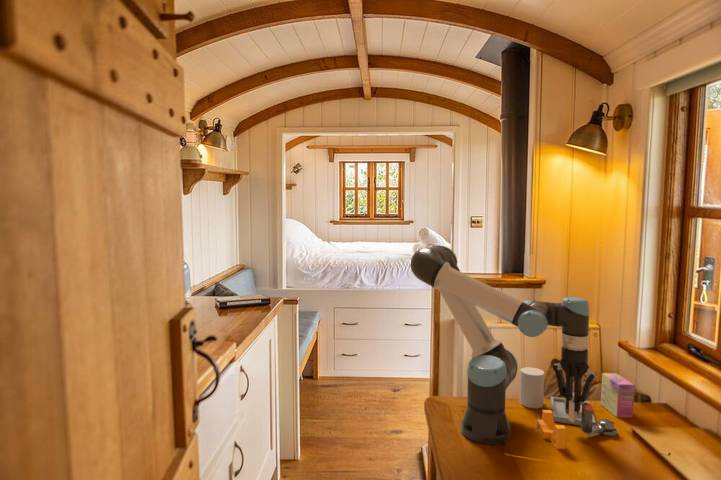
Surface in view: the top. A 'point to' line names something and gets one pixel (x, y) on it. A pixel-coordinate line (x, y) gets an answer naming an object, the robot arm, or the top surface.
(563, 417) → the tray
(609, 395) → the box
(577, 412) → the stop block
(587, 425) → the crank
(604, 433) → the crank base
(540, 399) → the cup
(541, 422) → the orange stepped block
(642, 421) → the top surface
